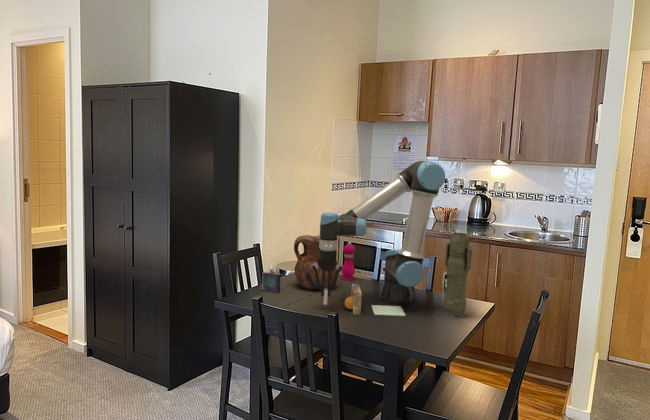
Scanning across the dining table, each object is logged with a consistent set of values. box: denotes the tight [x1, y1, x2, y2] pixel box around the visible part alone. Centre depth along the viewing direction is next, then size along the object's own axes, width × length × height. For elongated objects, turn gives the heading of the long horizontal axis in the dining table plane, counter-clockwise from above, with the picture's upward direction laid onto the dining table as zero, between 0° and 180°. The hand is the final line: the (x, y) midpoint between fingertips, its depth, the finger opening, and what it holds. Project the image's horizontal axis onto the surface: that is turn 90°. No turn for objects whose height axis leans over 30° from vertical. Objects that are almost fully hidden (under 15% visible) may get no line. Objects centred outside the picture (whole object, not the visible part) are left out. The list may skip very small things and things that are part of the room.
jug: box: [293, 234, 337, 291], centre depth 256 cm, size 22×21×25 cm
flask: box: [261, 268, 281, 294], centre depth 244 cm, size 9×3×11 cm, turn 71°
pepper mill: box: [340, 241, 356, 282], centre depth 275 cm, size 7×7×20 cm
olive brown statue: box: [443, 232, 473, 318], centre depth 220 cm, size 9×12×35 cm
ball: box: [344, 295, 354, 310], centre depth 223 cm, size 6×6×6 cm
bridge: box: [350, 283, 363, 316], centre depth 223 cm, size 3×14×9 cm, turn 1°
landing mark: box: [371, 304, 406, 317], centre depth 223 cm, size 13×13×1 cm
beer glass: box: [441, 271, 447, 306], centre depth 234 cm, size 7×7×15 cm
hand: (325, 303), depth 223 cm, fingers closed
